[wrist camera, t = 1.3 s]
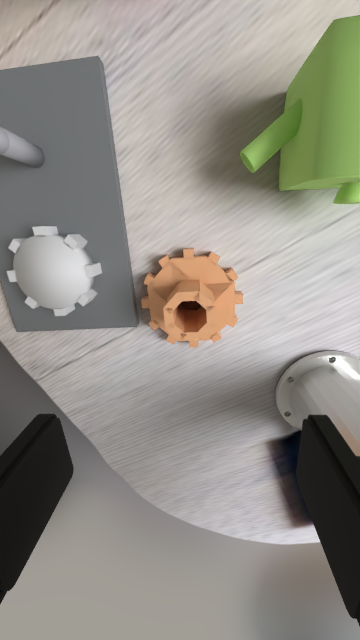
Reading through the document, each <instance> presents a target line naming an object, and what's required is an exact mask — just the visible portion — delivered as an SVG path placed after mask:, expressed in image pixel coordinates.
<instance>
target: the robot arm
mask: <svg viewBox="0 0 360 640" xmlns="http://www.w3.org/2000/svg"><path fill="white" fill-rule="evenodd" d="M275 398H276V404H277V407H278V409H279V411H280V413H281V415H282V417H283V418H284V419H285V421H287V422H288V423H289V424H290V425H291V426H293V427H295V428H297V429H299V430H302V431H301V439H300V447H299V456H298V464H297V472H296V475H297V481H298V485H299V487H300V490H301V492H302V495H303V498H304V500H305V503H306V505H307V508H308V511H309V513H310V516H311V518H312V521H313V524H314V526H315V529H316V531H317V534H318V537H319V539H320V542H321V544H322V547H323V549H324V552H325V555H326V557H327V560H328V562H329V565H330V568H331V570H332V573H333V575H334V578H335V581H336V583H337V586H338V588H339V591H340V593H341V596H342V598H343V601H344V604H345V606H346V609H347V611H348V613H349V615H350V616H351V617H352V618H355V619H357V621H358V623H359V625H360V359H359V358H357V357H356V356H354V355H351V354H348V353H345V352H340V351H323V352H317V353H314V354H311V355H308V356H305V357H303V358H301V359H299V360H298V361H296V362H295V363H294V364H292V365H291V366H290V367H289V368H288V369H287V370H286V371H285V372H284V373H283V375H282V376H281V378H280V379H279V382H278V384H277V387H276V392H275ZM72 474H73V464H72V461H71V457H70V454H69V450H68V446H67V443H66V439H65V436H64V432H63V429H62V425H61V421H60V419H59V418H57V417H56V415H55V414H38V415H37V416H36V417H35V418H34V419H33V420H32V422H30V424H29V425H28V426H27V427H26V428H25V429H24V430H23V431H22V432H21V434H20V435H19V436H18V437H17V438H16V439H15V440H14V442H13V443H12V444H11V445H10V446H9V447H8V448H7V449H6V450H5V451H4V452H3V454H2V455H1V456H0V604H1V602H2V600H3V598H4V596H5V594H6V593H7V591H9V590H10V589H12V588H13V586H14V585H15V583H16V581H17V580H18V578H19V576H20V574H21V572H22V570H23V568H24V566H25V565H26V563H27V560H28V559H29V557H30V555H31V553H32V551H33V549H34V548H35V546H36V544H37V542H38V540H39V538H40V536H41V534H42V532H43V531H44V529H45V527H46V525H47V523H48V521H49V519H50V517H51V515H52V513H53V512H54V510H55V508H56V506H57V504H58V502H59V500H60V498H61V496H62V495H63V492H64V491H65V489H66V487H67V485H68V483H69V481H70V479H71V477H72Z"/></svg>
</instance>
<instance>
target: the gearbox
mask: <svg viewBox="0 0 360 640" xmlns="http://www.w3.org/2000/svg"><path fill="white" fill-rule="evenodd" d="M280 149H281V152H280V170H279V190H280V191H285V190H305V189H325V188H340V190H339V192H338V194H337V195H336V197H335V199H334V202H333V203H335V204H356V203H360V15H359V16H352V17H346V18H340V19H336V20H333V22H332V23H331V24H330V26H329V27H328V29H327V30H326V31H325V33H324V34H323V36H322V37H321V39H320V40H319V42H318V43H317V45H316V46H315V48H314V49H313V51H312V52H311V54H310V55H309V57H308V58H307V60H306V61H305V63H304V64H303V66H302V67H301V69H300V70H299V72H298V73H297V75H296V76H295V78H294V80H293V81H292V83H291V84H290V86H289V88H288V90H287V94H286V100H285V107H284V113H283V114H282V115H281V116H280V117H279V118H278V119H277V120H275V121H274V122H273V123H272V124H271V125H270V126H269V127H268V128H266V129H265V130H264V131H263V132H262V133H261V134H260V135H259V136H257V137H256V138H255V139H254V140H253V141H252V142H251V143H250V144H248V145H247V146H246V147H245V148H244V149H243V150H242V151H241V152H240V157H241V159H242V161H243V162H244V164H245V165H246V167H247V168H248V169H249V170H250V171H251V172H252V173H254V172H255V171H256V170H258V169H259V168H260V167H261V166H262V165H263V164H264V163H265V162H266V161H268V160H269V159H270V158H271V157H272V156H273V155H274V154H275V153H276V152H277V151H279V150H280Z"/></svg>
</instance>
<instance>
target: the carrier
mask: <svg viewBox="0 0 360 640" xmlns="http://www.w3.org/2000/svg"><path fill="white" fill-rule="evenodd" d="M0 281H1V284H2V288H3V291H4V294H5V297H6V300H7V303H8V306H9V309H10V312H11V316H12V319H13V322H14V325H15V328H16V331H17V332H28V331H51V330H74V329H98V328H121V327H137V326H138V324H139V321H138V313H137V306H136V299H135V292H134V284H133V277H132V270H131V262H130V255H129V248H128V241H127V233H126V226H125V219H124V212H123V204H122V197H121V190H120V183H119V175H118V168H117V161H116V154H115V146H114V139H113V132H112V125H111V117H110V110H109V103H108V95H107V88H106V81H105V74H104V66H103V63H102V61H101V60H100V58H99V56H94V57H87V58H80V59H73V60H66V61H59V62H52V63H46V64H39V65H32V66H25V67H18V68H11V69H4V70H0Z"/></svg>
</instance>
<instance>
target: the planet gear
mask: <svg viewBox="0 0 360 640" xmlns="http://www.w3.org/2000/svg"><path fill="white" fill-rule="evenodd" d="M183 255H184V257H173V258H171V259H170V257H169V256H168V255H166V256H165V257H163V258H162V259H161V260H159V261H158V262H159V263H160V265H161V266H162V269H161V271H160V272H159V273H158V274H157V275H154V274H152V273H149V274H148V275H147V276H146V279H145V281H144V284H146V285H148V287H147V290H148V296H144V297H143V298H142V299H141V303H142V309H145V308H150V315H151V319H150V321H149V323H148V324H149V325H150V326H151V328H152V329H153V330H155V329H157V328H158V327H160V328H161V329H162V330H164V331H165V332H166V333H167V334H168V335H167V339H166V341H168V342H170V343H172V344H174V343H175V341H189V346H190V347H198V340H210V339H212V341H213V342H216V341H218V340H220V339H221V334H220V332H219V331H220V330H221V329H222V328H223V327H224V326H225V325H226V324H228V325H230V326H232V327H234V325H235V324H236V322H237V320H238V318H237V316H236V315H235V304H243V294H242V293H241V291H235V282H234V280H236V279H237V278H238V276H237V275H236V273H235V271H234V270H233V269H232V267H231V268H230V269H228V270H227V271H224V270H223V269H222V268H220V267H219V266H218V265H217V262H218V261H219V259H220V256H218V255H216V254H214V253H213V252H210V254H209V256H207V255H202V256H194V248H186V249H183ZM182 301H197V302H198V303H199V304H200V305H202V306H201V307H200V308H199V309H198V310H193V311H187V310H186V309H184V308H183V307H182V306H181V305H180V303H181V302H182Z"/></svg>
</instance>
